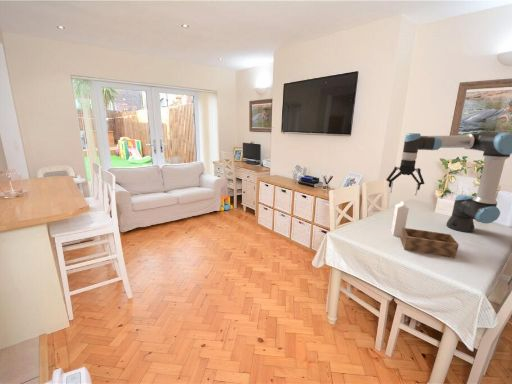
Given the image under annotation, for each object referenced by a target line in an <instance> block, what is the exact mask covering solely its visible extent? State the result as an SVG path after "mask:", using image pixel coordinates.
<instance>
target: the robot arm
mask: <svg viewBox="0 0 512 384" xmlns="http://www.w3.org/2000/svg"><path fill="white" fill-rule="evenodd" d="M403 143H404V144H403V149H402V156H401V160H400V166H394V168H393V170H392V171H391V173H390V174H389V175H388V176H387V178H386V181H387V182H388V187H389V188H390V189H389V193H390V194H392V191H393V185H394V181H395V180H396V179H397V178H398V177H400V176H401V175H403V176H411V177H412V178H413V179H414V181H415V182H416V183H417V184H415V188H414V193H413V195H414V196H417V195H418V191H420V189H421V186H422V185H425V180H424V178H423V176H422V173H421V170H422V169H421V168H420V167H418V168H417V167H416V163H417V156H418V152H419V151H420V150H421V151H438V150H439V149H445V148H446V149H455V148H456V149H457V148H458V149H461V148H463V149H465V150H474V151H479V152H483V154H482V156H483V157H484V159H485V160H484V162H483V168H482V172H481V176H480V179H479V184H478V188H477V192H476V195H475V196H474V195H473V196H472V195H468V194H467V195H464V194H461V195H460V194H459V195H458V194H457V196H456V197H455V200H454V203H453V209H452V212H451V216H450V217H449V218H448V220H447V222H446V227H447V228H450V229H451V230H453V231H458V232H463V233H473V232H475V222H474V221H476V222H478V223H481V224H491V223H494V222H495V221H497V220H498V219H499V217H500V216H501V210H500V209H499V208H498V207H497V205H498V201H497V200H496V196H497V192H498V188H499V186H500V185H499V184H500V180H501V177H502V174H503V169H504V166H505V162H506V160H508V159H509V158H510V156H511V155H512V133H511V132H510V133H509V132H491V131H490V132H489V131H488V132H487V131H486V132H478V133H477V132H476V133H467V134H465V135H464V134H463V135H421V133H418V132H417V133H414V132H413V133H412V132H408V133H406V134H405V137H404V142H403ZM397 171H398V173H397V174H395V173H396V172H397ZM414 172H416V173H417V175H418V178H419V179H418V178H417V176H416V175H415V174H414ZM419 180H420V181H419Z"/></svg>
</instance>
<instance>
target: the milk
mask: <svg viewBox="0 0 512 384" xmlns="http://www.w3.org/2000/svg"><path fill="white" fill-rule="evenodd" d="M408 214H409V207H408V206H406V205H405V202H404V201H402V200H401V201H400V203H397V204H395V206H394V212H393V218H392V222H391V223H392V224H391V228H390V229H391V230H390V233H391V234H392V236H394V237H401V235H402V229H403V228H406V225H407V220H408Z"/></svg>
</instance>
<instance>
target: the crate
mask: <svg viewBox="0 0 512 384" xmlns="http://www.w3.org/2000/svg"><path fill="white" fill-rule="evenodd" d="M400 242H401V245H402V247H403V250H404V251H409V252H416V253H421V254H427V255H433V256H439V257H445V258H452V259H456V258H457V253H458V249H459V246H460V245H459V243H458V242H457V241H456V240H455V238H454V237H453V236H452V235H451V234H450V233H443V232H435V231H429V230H421V229H414V228H408V227H405V228H403V229H402V235H401V236H400Z"/></svg>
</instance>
